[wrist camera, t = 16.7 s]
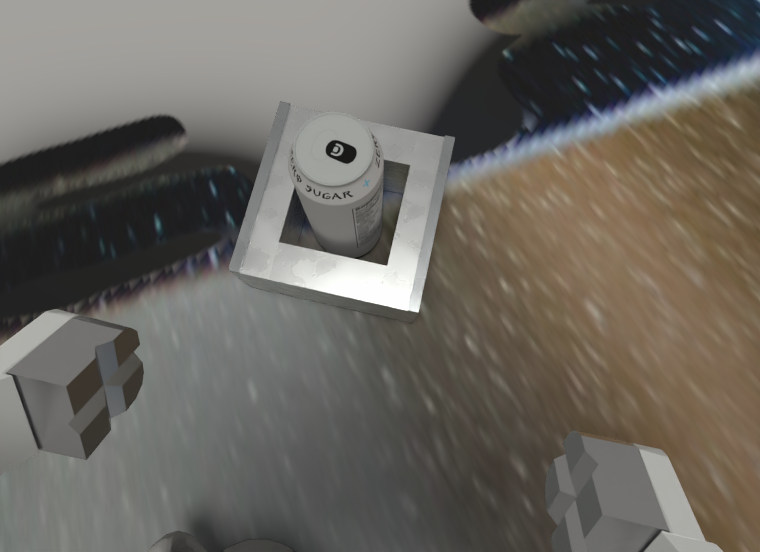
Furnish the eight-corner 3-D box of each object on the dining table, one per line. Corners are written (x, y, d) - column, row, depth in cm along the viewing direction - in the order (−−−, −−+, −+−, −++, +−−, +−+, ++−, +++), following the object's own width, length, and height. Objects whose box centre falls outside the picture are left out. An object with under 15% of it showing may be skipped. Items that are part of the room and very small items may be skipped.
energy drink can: (332, 188, 43) (310, 88, 29) (392, 213, 43) (400, 124, 28) (304, 245, 42) (264, 171, 28) (365, 272, 42) (358, 211, 27)
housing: (444, 172, 44) (455, 137, 38) (412, 323, 41) (418, 312, 34) (293, 140, 44) (280, 101, 38) (250, 286, 41) (228, 269, 35)
